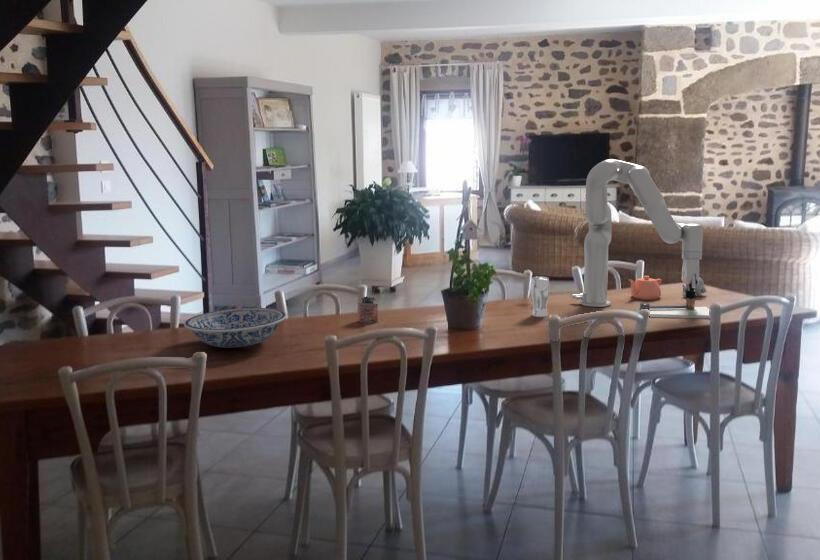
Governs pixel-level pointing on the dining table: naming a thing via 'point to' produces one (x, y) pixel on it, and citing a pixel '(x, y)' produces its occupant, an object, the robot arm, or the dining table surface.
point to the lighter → (368, 310)
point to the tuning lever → (689, 305)
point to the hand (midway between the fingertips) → (690, 300)
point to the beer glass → (540, 296)
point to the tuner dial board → (680, 313)
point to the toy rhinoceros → (696, 288)
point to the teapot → (646, 288)
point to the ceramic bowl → (235, 326)
